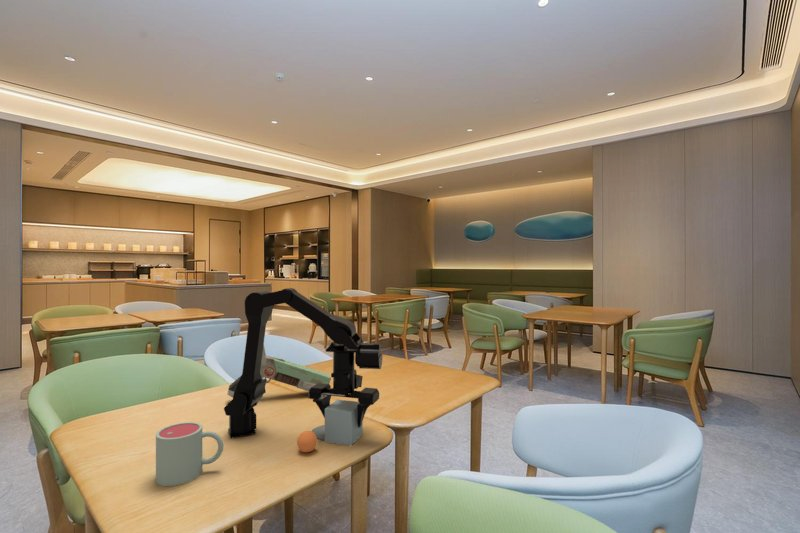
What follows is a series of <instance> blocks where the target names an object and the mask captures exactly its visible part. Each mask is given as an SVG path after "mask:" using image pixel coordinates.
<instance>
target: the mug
mask: <svg viewBox="0 0 800 533" xmlns="http://www.w3.org/2000/svg"><path fill="white" fill-rule="evenodd" d="M204 438H213V439H214V440H215V442H217V450H216V453H215V454H214V455H213V456H211V457H209V458H203V439H204ZM222 438H223V437H222V436H220V435H219V433H217V432H215V431H210V430H209V431H208V430H207V431H203V424H201V423H199V422H193V421H188V422H187V421H186V422H185V421H184V422H178V423H173V424H170V425H167V426H164V427H163V428H160V429H159V430H158V431H157V432H156V433H155V482H156V484H157V485H160V486H163V487H172V486H173V487H174V486H179V485H180V486H181V485H185V484H186V483H189V482H191V481H193V480H195V479H197V478H198V477H199V476H201V474H202V473H203V465H209V464H214V462H216V461H217V460H218V459H219V458H220V457H221V455H222V453H223V451H224V440H223V439H222Z"/></svg>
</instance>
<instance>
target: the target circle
mask: <svg viewBox="0 0 800 533" xmlns="http://www.w3.org/2000/svg"><path fill="white" fill-rule="evenodd" d="M311 431H312V432H313V433H315V435H316V437H317V440H320V441H321V440H322V441H325V424H323V425H319V426H316V427H314V428H312V429H311Z"/></svg>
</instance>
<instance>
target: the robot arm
mask: <svg viewBox="0 0 800 533" xmlns="http://www.w3.org/2000/svg"><path fill="white" fill-rule="evenodd" d="M281 304H282V305H283V304H286V305H287V306H289V307H290V308H292V309H293V310H295V311H296V312H298V313H299V314H300V315H303V316H304V317H305V318H307V319H309V320H310V321H311V322H313V323H315V324H316V325H318V326H319V327H320V328H321V329H322V330H323V332H324V334H325V335H326V336H328V338H329V339H330V340H331V341H332V342H331V343H330V344H329V346H328V347H327V348H326V349H325V352H327V353H329V352H330V353H332V354H333V355H332V356H333V358H332V360H333V362H332V363H333V364H332V367H333V368H332V369H333V370H332V372H331V374H330V377H331V378H332V384H333V385H332V386H333V387H332V388H331V385H330V383H329V384H323V383H318V384H316V385H315V386H313V387H311V388H310V389H309V391H308V399H310V400H312V402H313V403H315V404H316V406H317V407H318V409H319V410H320V412H321V415H322V416H323V418H324V419H325V408H327V407H328V406H329V405H331V398H332V397H338V398H339V397H341V398H349V399H350V398H351V399H357V402H359V404H358V405H357V423H358V428H360V427H361V424H362V421H364V418H365V415H366V413H367V410H368V408H369V407H371V406H372V405H374V404H375V403H376V402H378V400H379V399H380V391H379V389H378V388H376V387H375V388H374V387H364V388H363V389H362V390H357V389H358V388H362V385H363V375H360V374H357V369H355V365H356V367H358V368H359V369H360V370H361V369H362V370H363V369H365V370H366V369H368V370H369V369H370V370H382V365H383V353H382V348H381V343H379V342H375V343H374V342H373V343H366V342H365V343H364V341H363V339H362V337H361V336H360V335H359V333H358V332H357V328H356V325H355V323H354V322H353V321H351V320H348V319H346V318H345V317H342V316H338V315H334V314H332V313H330V312H328V311H327V310H326V309H324V308H322V307H321V306H320V305H318V304H316V303H315V302H313V301H312V300H310V299H309V298H308V297H306V296H305V295H303V294H302V293H299V291H298V290H297V289H295V288H293V287H289V288H288V287H287V288H283V289H281V290H277V291H273V292H269V291H267V290H265V291H264V290H262V291H255V292H251V293H249V294H248V295H247V296H246V297H245V299H244V315H245V318H246V320H247V323H248V324H247V332H246V339H245V348H244V349H245V350H244V357H243V365H242V374H241V375H240V376H241V377H240V376H239V377H240V379H239V381H238V383H237V385H236V388H235V391H234V395H233V397H232V399H231V400H230V401H229V403H228V402H227V404H226V405H225V407H224V408H223V411H224V414H225V416H229V417H228V419H229V420H228V429H227V430H228V434H229V437H230V439H235V438H240V437H246V436H250V435H255V434H256V433H257V432H256V430H257V413H256V412H255V408H254V407H256V406H257V405H258V402H259V401H260V400H261V399H262V398H263V395H264V394H266V391H267V390H266V385H267V383H266V382H267V381H268V380H267V379H268V378H266V379H265V378H263V379H262V377H261V375H260V369H261V361H262V353H263V345H264V346H265V344H264V343H265V336H266V335H265V334H266V328H267V327H266V326H267V324H268V321H269V319H270V317H271V315H272V314H273V309H274V307H275V306H277V305H281Z"/></svg>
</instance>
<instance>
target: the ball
mask: <svg viewBox="0 0 800 533" xmlns="http://www.w3.org/2000/svg"><path fill="white" fill-rule="evenodd" d="M317 443H318V439H317V437H316V435H315V433H313V432H312V430H305V431H302V432H301V433H300V434H299V436H297V440H296V445H297V448H298V449H299V450H300V451H301V452H302V453H310V452H312V451H314V450H315V449H316V447H317V445H318V444H317Z"/></svg>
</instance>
